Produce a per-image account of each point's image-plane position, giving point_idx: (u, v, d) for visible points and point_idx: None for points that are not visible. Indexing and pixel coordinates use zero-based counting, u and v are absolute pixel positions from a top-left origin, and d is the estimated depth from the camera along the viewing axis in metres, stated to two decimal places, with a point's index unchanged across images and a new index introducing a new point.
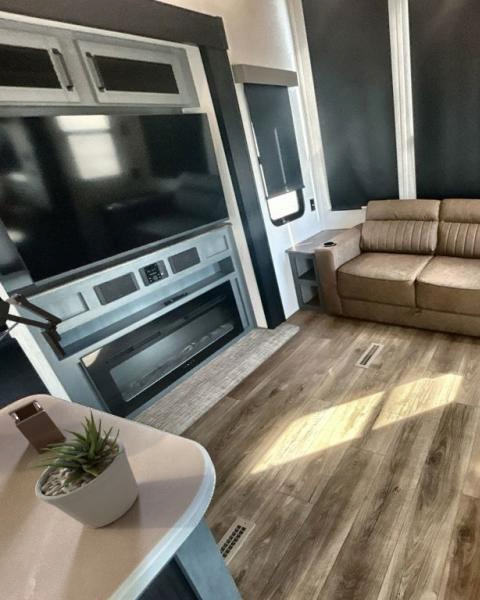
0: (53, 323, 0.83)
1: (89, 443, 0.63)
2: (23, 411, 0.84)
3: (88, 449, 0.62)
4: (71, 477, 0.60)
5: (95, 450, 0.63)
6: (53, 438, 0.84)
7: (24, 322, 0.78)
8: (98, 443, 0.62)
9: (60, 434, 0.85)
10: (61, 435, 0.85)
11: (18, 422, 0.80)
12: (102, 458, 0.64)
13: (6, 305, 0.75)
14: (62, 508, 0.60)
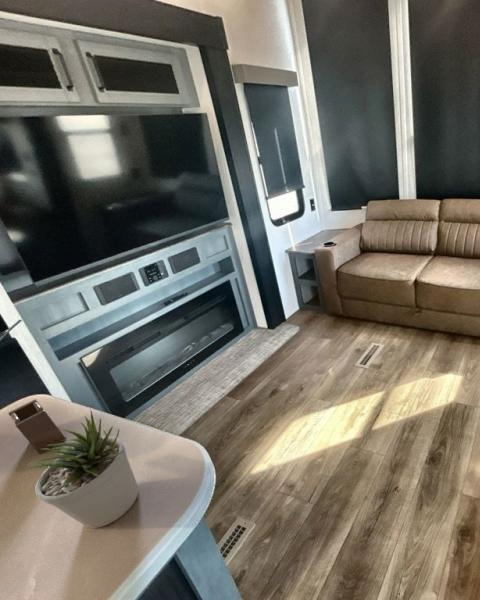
0: None
1: (89, 443, 0.63)
2: (23, 411, 0.84)
3: (88, 449, 0.62)
4: (71, 477, 0.60)
5: (95, 450, 0.63)
6: (53, 438, 0.84)
7: None
8: (98, 443, 0.62)
9: (60, 434, 0.85)
10: (61, 435, 0.85)
11: (18, 422, 0.80)
12: (102, 458, 0.64)
13: None
14: (62, 508, 0.60)
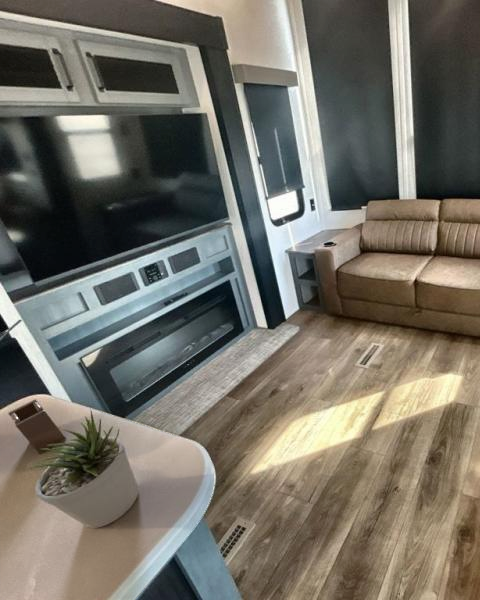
0: None
1: (89, 443, 0.63)
2: (23, 411, 0.84)
3: (88, 449, 0.62)
4: (71, 477, 0.60)
5: (95, 450, 0.63)
6: (53, 438, 0.84)
7: None
8: (98, 443, 0.62)
9: (60, 434, 0.85)
10: (61, 435, 0.85)
11: (18, 422, 0.80)
12: (102, 458, 0.64)
13: None
14: (62, 508, 0.60)
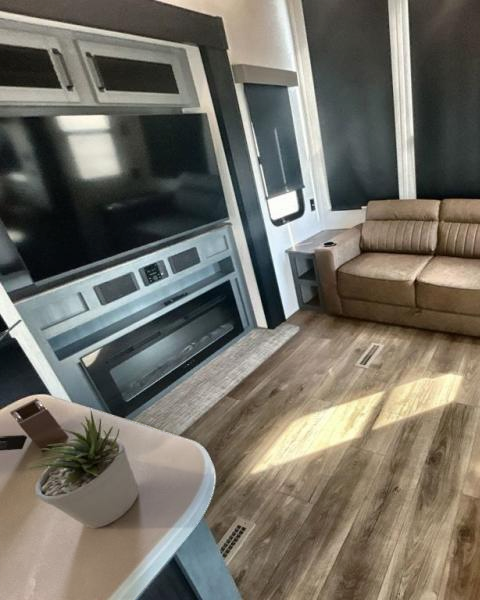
0: None
1: (89, 443, 0.63)
2: (25, 410, 0.85)
3: (88, 449, 0.62)
4: (71, 477, 0.60)
5: (95, 450, 0.63)
6: (56, 436, 0.85)
7: None
8: (98, 443, 0.62)
9: (63, 432, 0.86)
10: (63, 433, 0.86)
11: (21, 421, 0.80)
12: (102, 458, 0.64)
13: None
14: (62, 508, 0.60)
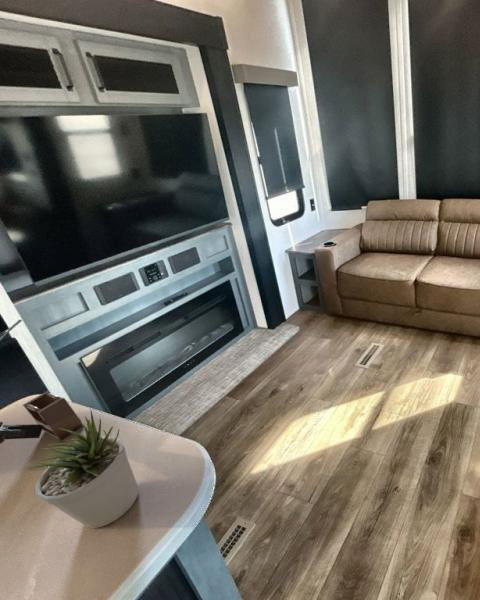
0: None
1: (89, 443, 0.63)
2: (37, 402, 0.87)
3: (88, 449, 0.62)
4: (71, 477, 0.60)
5: (95, 450, 0.63)
6: (72, 424, 0.88)
7: None
8: (98, 443, 0.62)
9: (78, 420, 0.89)
10: (79, 421, 0.89)
11: (39, 410, 0.83)
12: (102, 458, 0.64)
13: None
14: (62, 508, 0.60)
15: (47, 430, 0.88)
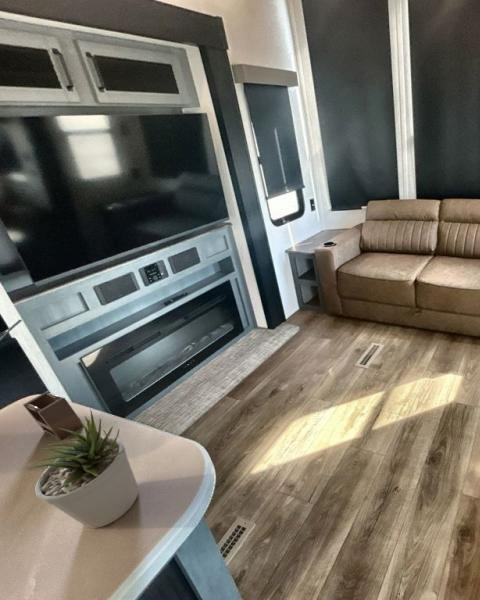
0: None
1: (89, 443, 0.63)
2: (37, 402, 0.87)
3: (88, 449, 0.62)
4: (71, 477, 0.60)
5: (95, 450, 0.63)
6: (72, 424, 0.88)
7: None
8: (98, 443, 0.62)
9: (78, 420, 0.89)
10: (79, 421, 0.89)
11: (40, 409, 0.83)
12: (102, 458, 0.64)
13: None
14: (62, 508, 0.60)
15: (47, 430, 0.88)
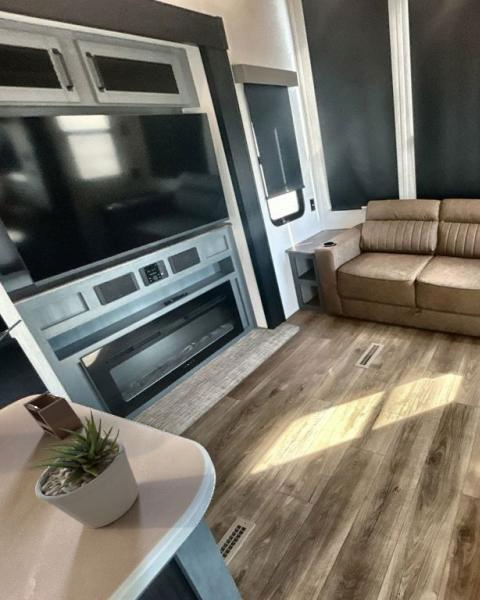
0: None
1: (89, 443, 0.63)
2: (37, 402, 0.87)
3: (88, 449, 0.62)
4: (71, 477, 0.60)
5: (95, 450, 0.63)
6: (72, 424, 0.88)
7: None
8: (98, 443, 0.62)
9: (78, 420, 0.89)
10: (79, 421, 0.89)
11: (40, 409, 0.83)
12: (102, 458, 0.64)
13: None
14: (62, 508, 0.60)
15: (47, 430, 0.88)
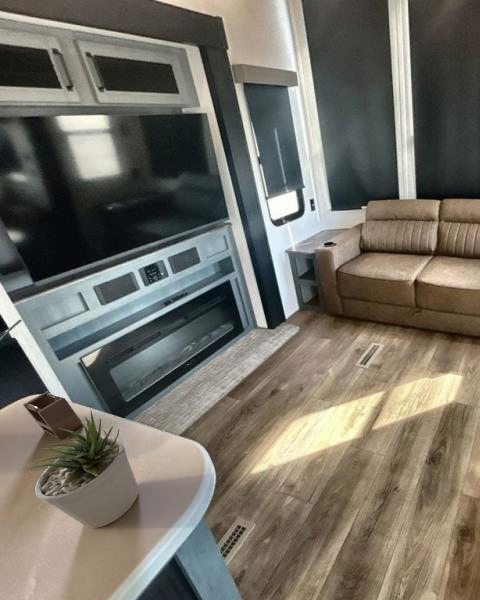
0: None
1: (89, 443, 0.63)
2: (37, 402, 0.87)
3: (88, 449, 0.62)
4: (71, 477, 0.60)
5: (95, 450, 0.63)
6: (72, 424, 0.88)
7: None
8: (98, 443, 0.62)
9: (78, 420, 0.89)
10: (79, 421, 0.89)
11: (40, 409, 0.83)
12: (102, 458, 0.64)
13: None
14: (62, 508, 0.60)
15: (47, 430, 0.88)
